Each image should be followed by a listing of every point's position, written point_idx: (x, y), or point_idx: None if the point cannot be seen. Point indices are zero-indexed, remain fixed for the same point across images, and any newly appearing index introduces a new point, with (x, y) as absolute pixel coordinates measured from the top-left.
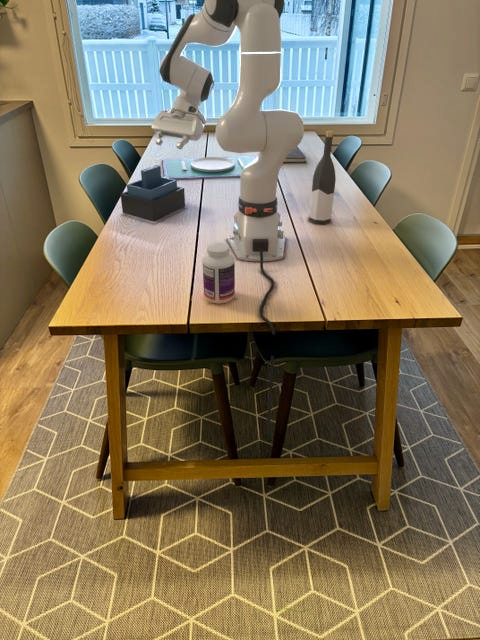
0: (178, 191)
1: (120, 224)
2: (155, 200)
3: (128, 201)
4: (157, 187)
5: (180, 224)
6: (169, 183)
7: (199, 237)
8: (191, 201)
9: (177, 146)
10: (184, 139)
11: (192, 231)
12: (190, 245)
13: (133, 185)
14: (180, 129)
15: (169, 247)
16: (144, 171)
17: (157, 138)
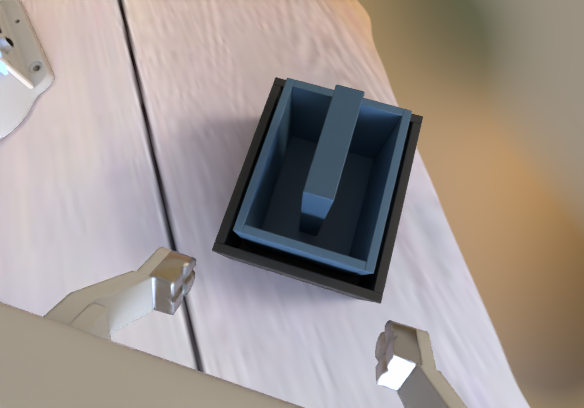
0: (226, 213)
1: (366, 91)
2: (270, 93)
3: None
4: (277, 118)
5: (204, 135)
6: (250, 181)
7: (130, 75)
8: (230, 336)
9: (182, 254)
10: (86, 287)
11: (158, 103)
12: (142, 32)
13: (394, 140)
14: (94, 395)
15: (188, 12)
16: (340, 85)
17: (434, 368)
